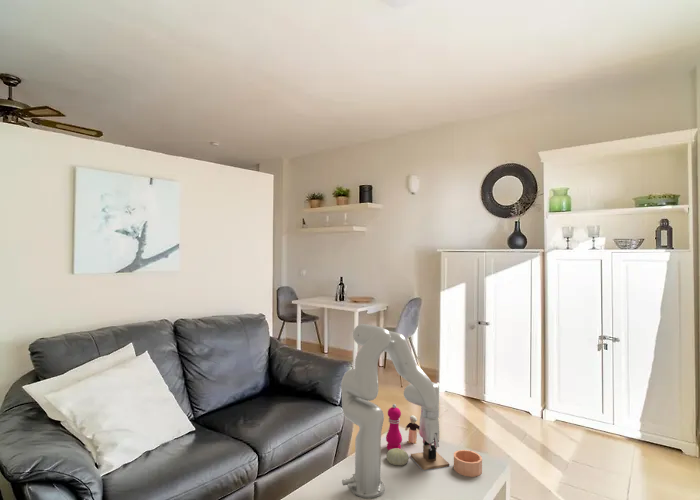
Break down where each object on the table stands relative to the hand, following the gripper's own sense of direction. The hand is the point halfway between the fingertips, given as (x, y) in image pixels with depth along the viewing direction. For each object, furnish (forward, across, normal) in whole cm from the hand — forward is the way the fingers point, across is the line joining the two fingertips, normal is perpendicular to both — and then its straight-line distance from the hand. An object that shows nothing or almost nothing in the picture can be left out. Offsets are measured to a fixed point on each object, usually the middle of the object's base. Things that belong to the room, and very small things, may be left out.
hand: (429, 455), depth 169 cm
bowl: (+3, +10, +12) cm, 16 cm away
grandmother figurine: (+3, -18, +1) cm, 18 cm away
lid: (+2, 0, 0) cm, 2 cm away
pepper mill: (+3, -15, -10) cm, 18 cm away
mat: (+3, 0, 0) cm, 3 cm away
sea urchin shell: (+3, -4, -13) cm, 14 cm away
